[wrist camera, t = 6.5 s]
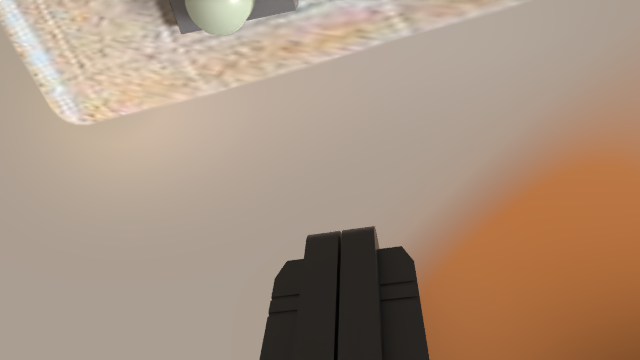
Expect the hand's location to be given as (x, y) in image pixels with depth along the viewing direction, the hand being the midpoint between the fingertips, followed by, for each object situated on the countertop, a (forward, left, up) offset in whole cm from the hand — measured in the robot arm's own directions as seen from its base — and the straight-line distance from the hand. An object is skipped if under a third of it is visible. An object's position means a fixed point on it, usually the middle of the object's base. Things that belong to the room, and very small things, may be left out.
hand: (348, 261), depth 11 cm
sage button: (+4, -7, -24) cm, 25 cm away
